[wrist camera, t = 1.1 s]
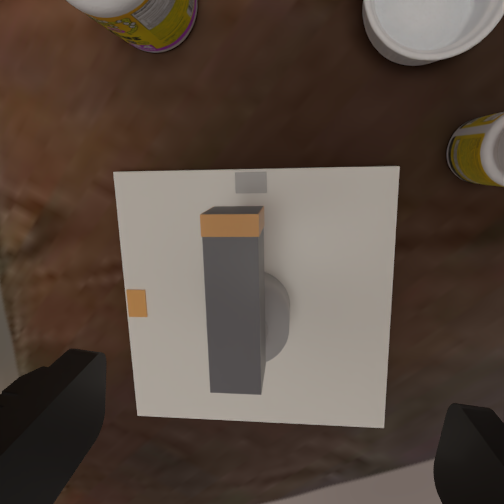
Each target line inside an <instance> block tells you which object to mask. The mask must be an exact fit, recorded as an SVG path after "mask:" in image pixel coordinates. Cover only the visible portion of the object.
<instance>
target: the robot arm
mask: <svg viewBox="0 0 504 504" xmlns="http://www.w3.org/2000/svg"><path fill="white" fill-rule="evenodd" d="M105 392H106V357H105V354H104V353H101V352H94V351H87V350H80V349H69V350H68V351H67V352H65V353H64V354H63V355H62V356H61V357H60V358H59V359H57V360H56V361H55V362H54V363H53V364H52V365H51V366H49V367H40V368H38V369H36V370H34V371H32V372H30V373H27V374H25V375H23V376H21V377H19V378H18V379H17V380H15V381H14V382H13V383H12V384H11V385H9V386H8V387H7V388H6V389H4V390H3V391H2V394H0V504H53V503H54V502H55V500H56V499H57V497H58V496H59V494H60V493H61V491H62V490H63V488H64V487H65V485H66V484H67V482H68V481H69V479H70V478H71V476H72V475H73V473H74V472H75V470H76V469H77V467H78V466H79V464H80V463H81V461H82V460H83V458H84V457H85V455H86V454H87V452H88V451H89V450H90V448H91V447H92V445H93V444H94V442H95V441H96V439H97V437H98V435H99V433H100V430H101V427H102V424H103V420H104V415H105ZM434 481H435V486H436V489H437V493H438V495H439V497H440V499H441V502H442V504H504V423H503V422H502V421H501V420H500V418H499V417H498V416H497V415H496V414H495V412H494V411H493V410H491V409H490V408H485V407H478V406H471V405H464V404H457V403H453V404H451V405H450V406H449V408H448V410H447V413H446V417H445V421H444V425H443V429H442V433H441V437H440V441H439V445H438V449H437V453H436V457H435V461H434Z"/></svg>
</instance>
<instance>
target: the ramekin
mask: <svg viewBox="0 0 504 504" xmlns="http://www.w3.org/2000/svg"><path fill="white" fill-rule="evenodd" d="M503 15H504V0H363V4H362V16H363V23H364V26H365V30H366V33H367V35H368V38H369V40H370V41H371V43H372V45H373V46H374V47H375V48H376V50H377V51H378V52H379V53H380V54H381V55H383V56H384V57H385V58H387V59H389V60H390V61H392V62H395V63H398V64H402V65H410V66H419V65H425V64H430V63H432V62H435V61H438V60H443V59H447V58H450V57H453V56H456V55H458V54H461V53H463V52H465V51H467V50H469V49H470V48H472V47H473V46H475V45H476V44H478V43H479V42H481V40H483V39H484V38H485V37H486V36H487V35H488V34H489V33H490V32H491V31H492V30H493V29H494V28H495V26H496V25H497V23H498V22H499V21H500V19H501V18H502V16H503Z"/></svg>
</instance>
